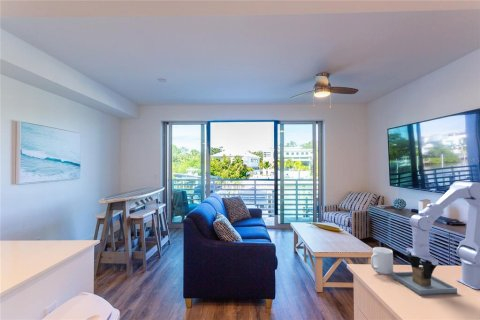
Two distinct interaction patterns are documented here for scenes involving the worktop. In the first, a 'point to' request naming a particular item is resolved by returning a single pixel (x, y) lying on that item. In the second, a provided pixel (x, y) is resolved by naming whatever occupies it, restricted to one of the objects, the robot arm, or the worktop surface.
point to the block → (420, 277)
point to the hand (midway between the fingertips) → (421, 275)
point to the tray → (434, 289)
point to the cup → (382, 260)
